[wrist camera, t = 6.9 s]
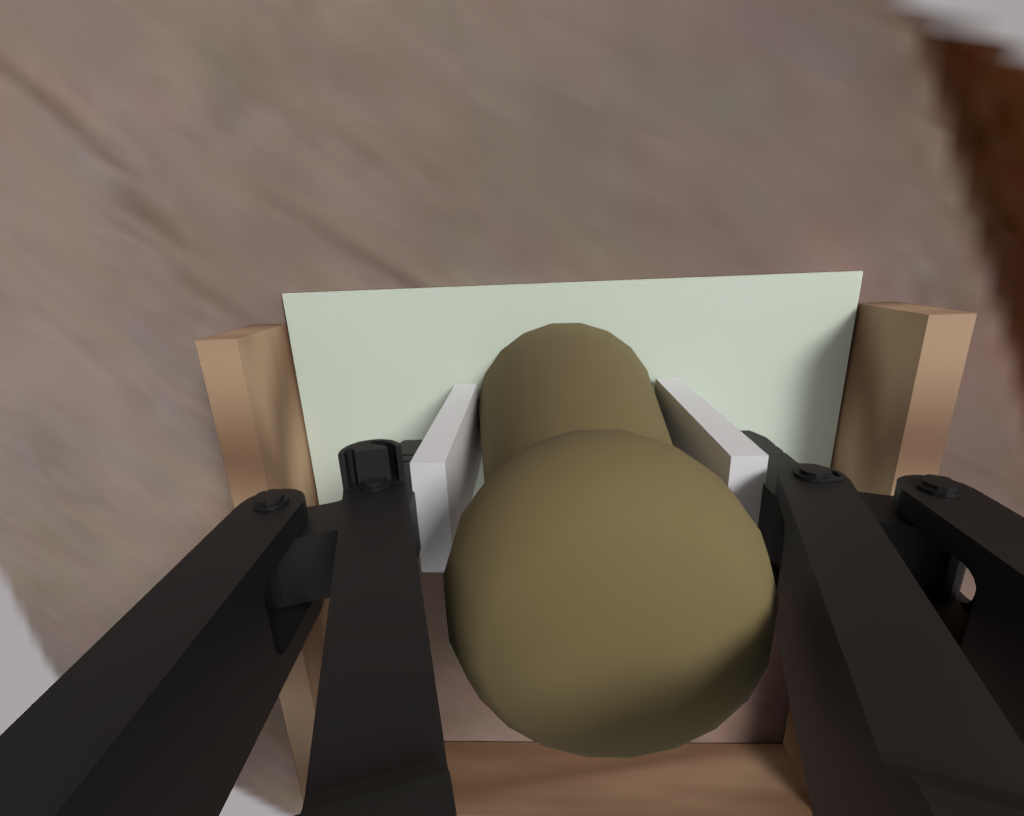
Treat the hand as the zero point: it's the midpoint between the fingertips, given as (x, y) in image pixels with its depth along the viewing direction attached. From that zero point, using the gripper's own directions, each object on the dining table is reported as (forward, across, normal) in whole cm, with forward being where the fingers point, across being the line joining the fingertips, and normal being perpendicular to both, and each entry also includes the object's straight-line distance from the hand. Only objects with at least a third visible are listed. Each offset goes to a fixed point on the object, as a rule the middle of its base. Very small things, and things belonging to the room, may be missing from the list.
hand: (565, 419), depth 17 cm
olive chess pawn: (0, 0, 0) cm, 1 cm away
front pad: (0, 0, 0) cm, 0 cm away
